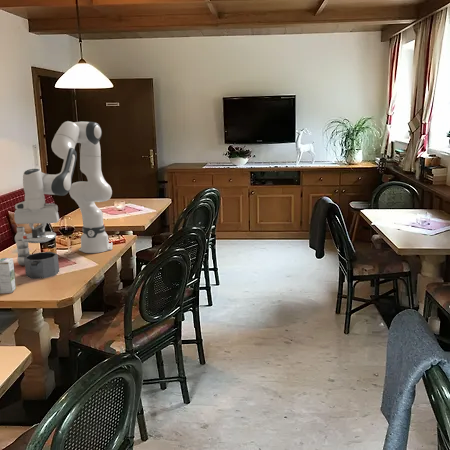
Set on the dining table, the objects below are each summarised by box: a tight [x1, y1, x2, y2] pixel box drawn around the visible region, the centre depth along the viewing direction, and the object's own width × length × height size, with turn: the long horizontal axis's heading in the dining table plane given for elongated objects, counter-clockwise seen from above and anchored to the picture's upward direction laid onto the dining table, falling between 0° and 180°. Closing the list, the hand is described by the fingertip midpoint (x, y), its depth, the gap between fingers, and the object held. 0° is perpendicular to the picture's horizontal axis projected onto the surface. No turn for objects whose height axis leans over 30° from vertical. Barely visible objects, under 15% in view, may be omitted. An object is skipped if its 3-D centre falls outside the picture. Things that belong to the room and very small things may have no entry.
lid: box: [21, 224, 57, 244], centre depth 243 cm, size 16×16×6 cm
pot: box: [24, 251, 60, 280], centre depth 246 cm, size 20×14×9 cm
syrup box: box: [0, 257, 17, 294], centre depth 222 cm, size 6×6×14 cm
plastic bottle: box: [14, 226, 31, 266], centre depth 261 cm, size 6×7×20 cm
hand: (38, 232), depth 243 cm, fingers closed on lid, 2 cm apart
